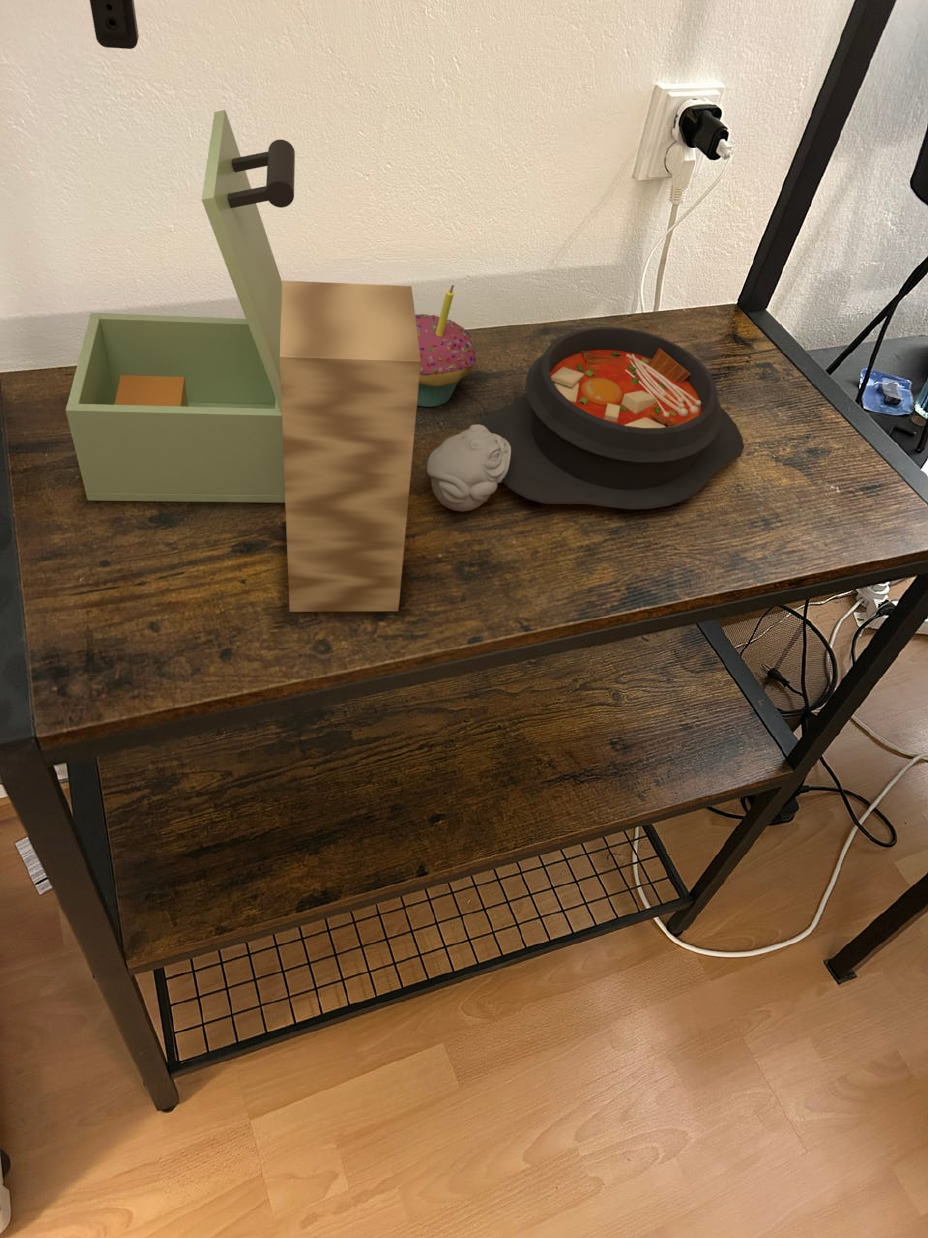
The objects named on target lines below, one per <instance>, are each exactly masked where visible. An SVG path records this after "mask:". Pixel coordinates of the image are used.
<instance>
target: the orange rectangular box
mask: <svg viewBox="0 0 928 1238" xmlns="http://www.w3.org/2000/svg"><path fill="white" fill-rule="evenodd" d="M115 405H143V406H182V407H188V400H187V392H186V384H185V378H184V377H168V376H133V375H121V376H120V380H119V385H118V390H117V395H116V400H115Z"/></svg>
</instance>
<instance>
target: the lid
mask: <svg viewBox="0 0 928 1238" xmlns="http://www.w3.org/2000/svg"><path fill="white" fill-rule="evenodd" d="M227 113H228V112H227V111H226V109H222V110H217V111H214V113H213V120H212V127H211V133H210V140H209V145H208V146H209V147H208V153H207V160H206V167H205V173H204V181H203V188H202V194H201V202H202V205H203V208H204V210H205V213H206V215H207V218H208V221H209V223H210V226H211V229H212V232H213V234H214V237H215V240H216V242H217V245H218V248H219V250H220V253H221V255H222V258H223V262H224V264H225V266H226V269H227V271H228V272H227V273H228V274H229V277H230V280H231V282H232V285H233V288H234V290H235V293H236V295H237V298H238V301H239V303H240V306H241V309H242V313H243V314H244V317H245V319H246V320H247V323H248V325H249V328H250V331H251V333H252V336H253V339H254V341H255V344H256V347H257V349H258V352H259V355H260V357H261V360H262V363H263V366H264V368H265V371H266V374H267V376H268V379H269V382H270V384H271V387H272V390H273V392H274V395H275V398H276V400H277V403H278V406H279V408H280V411H282V403H281V377H280V332H281V302H282V281H283V279H282V277H281V275H280V271H279V269H278V265H277V262H276V259H275V256H274V254H273V250H272V247H271V245H270V241H269V238H268V235H267V232H266V228H265V226H264V223H263V220H262V216H261V214H260V211H259V207H258V205H257V204H260V203H264V202H268V203H270V204H271V205H272V206H274V207H275V208H280V209H281V208H282V209H283V208H286V207H288V206H290V205H291V204H292V203H293V201H294V199H295V173H296V172H295V171H296V169H295V167H296V152H295V148H294V146H293V145H292V144H291V143H290V142H289V141H287V140H285V139H275V140H274V141H272V142H271V143H269V146H268V150H267V151H263V152H258V153H254V154H249V155H244V156H242V155H241V153H240V150H239V146H238V143H237V141H236V138H235V135H234V132H233V129H232V126H231V123H230V120H229V116H228V114H227ZM263 167H266V183H265V184H266V185H263V186H259V187H254V188H252V186H251V184H250V180H249V177H248V175H247V171H249V170H254V169H258V168H263Z"/></svg>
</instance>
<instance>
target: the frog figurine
mask: <svg viewBox="0 0 928 1238" xmlns="http://www.w3.org/2000/svg"><path fill="white" fill-rule="evenodd" d="M510 457H511V447H510V444H509V443H508V441H506V440H505V439H504V438H502V437H501V436H499V435H497V434H494V433H493V434H492V433H490V432H489V430H488V429H487V428H486V427H485V426H483V425H480V423H479V424H472V425H470V426H469V427H468V429H464V430H463V431H461V432H460V433H458V434H454V435H452V436H450V437H448V438H446V439H445V440H444V441H443V442H442V443H441V444H440V445H439V446H438V447H436V448H435V449H434V450H433V451H432V452H431V454H429V457H428V459H427V461H426V472H427V474H428V476H430V477H431V479H430V481H431V482H430V483H431V489H432V491H433V494H434V496H435V498H436V500H438V502H439V503H440V504H441V505H442V506H444V507H446V508H447V509H449V510H452V511H455V512H468V511H469V512H470V511H472V510H475V509H478V507H480V506H482V504H484V503H486V502H488V499H490V497H491V495H493V494H494V493H495V492H496V490H497V489H498V484H499V483H502V482H501V481H502V479H503V478H505V475H506V473H507V471H508V468H509V463H510Z"/></svg>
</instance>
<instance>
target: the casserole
mask: <svg viewBox="0 0 928 1238" xmlns="http://www.w3.org/2000/svg"><path fill="white" fill-rule="evenodd" d="M716 384H717V383H716V381H715V380H714V377H713V376H712V374H711V372H710V371H709V369H707V368H706V366H705V365H704V364H703V362H701V361H700V360H699V359H698V358H697V357H696V356H694V355H693V354H692V353H691V352H690V351H688V350H686V349H684V348H683V347H681V346H680V345H678V344H676V343H674V342H672V341H670V340H668V339H666V338H663V337H661V336H658V335H655V334H652V333H649V332H645V331H641V330H637V329H632V328H626V327H625V328H624V327H616V326H599V327H597V326H596V327H587V328H582V329H579V330H574V331H571V332H569V333H567V334H564V335H562V336H560V337H559V338H557V339H556V340H554V341H553V342H552V343H551V344H550V345H549V346H548V348H547V349H545V351H544V353H543V354H542V355H540V356H539V357H537V358H536V359H535V361H534V362H533V363H532V364H531V365H530V367H529V368H528V372H527V375H526V377H525V388H524V389H525V393H524V394H522V395H521V396H519V397H518V398H517V399H516V400H515V401H513V402H512V403H511V404H509V405H506V406H505V407H503V408H500V409H498V410H495V411H493V412H492V413H489V414H488V415H486V416H484V417H483V418H481V421H480V422H479V424H480V425H483V426H485V427H486V428H487V429H488V430H489V432H490V433H492V434H493V433H494V434H497V435H499V436H501V437H502V438H504V439H505V440H506V441H508V443H509V444H510V447H511V457H510V463H509V468H508V471H507V473H506V475H505V478H503V479H502V481H501V482H500V483H502V484H504V485H505V486H506V487H507V488H508V489H510V490H511V491H513V492H515V494H517V495H519V496H522V497H523V498H525V499H527V500H531V501H533V502H537V503H541V504H548V505H550V504H551V505H593V506H599V507H606V508H607V507H608V508H613V509H614V508H615V509H623V510H651V509H657V508H664V507H669V506H671V505H672V506H673V505H675V504H677V503H680V502H684V501H686V500H688V499H689V498H691V497H693V496H694V495H695V494H697V493H699V492H700V491H701V490H702V489H703V488H704V487H705V486H706V485H707V483H708V482H709V481H710V480H712V478H713V477H714V476H715V475H716V473H718V471H720V470H722V469H724V468H725V467H727V466H728V465H729V464H731V463H733V462H734V461H735V460H738V458H740V457H742V454H743V452H744V448H745V444H744V439H743V435H742V433H741V431H740V430H739V428H738V425H737V424H736V422H735V421H734V420H733V418H732V417H731V416H730V415H729V413H727V411H726V410H724V408H723V407H721V403H720V400H719V399H718V390H717V385H716Z"/></svg>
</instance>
